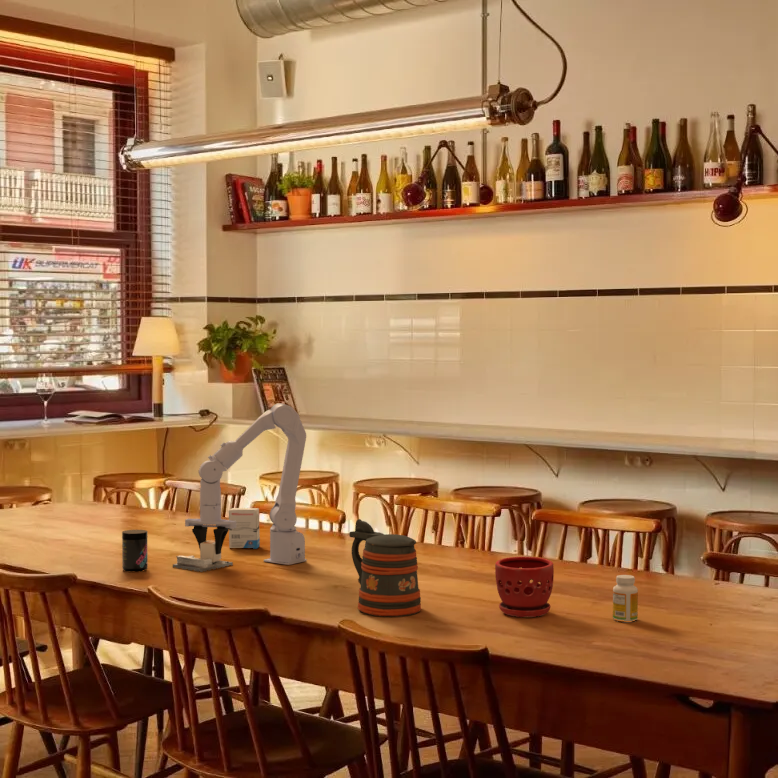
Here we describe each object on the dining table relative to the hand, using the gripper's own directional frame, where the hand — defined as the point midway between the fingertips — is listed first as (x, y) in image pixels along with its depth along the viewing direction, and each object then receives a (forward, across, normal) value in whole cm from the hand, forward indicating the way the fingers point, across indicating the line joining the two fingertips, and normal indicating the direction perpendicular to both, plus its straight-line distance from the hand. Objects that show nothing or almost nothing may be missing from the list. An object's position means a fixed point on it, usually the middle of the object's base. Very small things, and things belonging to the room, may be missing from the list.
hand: (210, 553), depth 325 cm
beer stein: (+3, -60, +38) cm, 72 cm away
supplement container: (+3, +16, +13) cm, 21 cm away
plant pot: (+3, -93, +34) cm, 99 cm away
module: (+2, 0, 0) cm, 2 cm away
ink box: (+3, +2, -28) cm, 28 cm away
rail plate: (+3, +1, +3) cm, 4 cm away
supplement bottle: (+3, -115, +34) cm, 120 cm away
